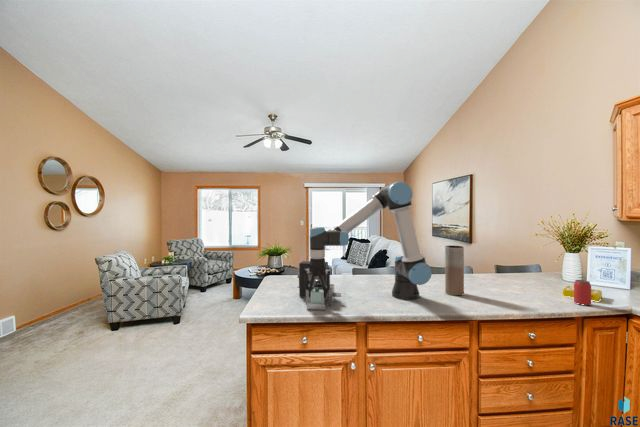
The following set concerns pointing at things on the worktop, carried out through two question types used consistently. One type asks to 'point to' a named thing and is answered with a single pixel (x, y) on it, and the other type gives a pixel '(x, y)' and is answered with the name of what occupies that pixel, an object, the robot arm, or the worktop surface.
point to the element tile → (595, 294)
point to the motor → (327, 301)
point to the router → (301, 276)
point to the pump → (316, 296)
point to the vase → (454, 270)
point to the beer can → (582, 292)
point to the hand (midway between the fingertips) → (317, 303)
